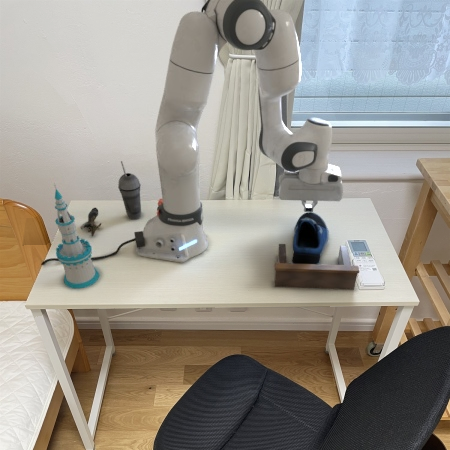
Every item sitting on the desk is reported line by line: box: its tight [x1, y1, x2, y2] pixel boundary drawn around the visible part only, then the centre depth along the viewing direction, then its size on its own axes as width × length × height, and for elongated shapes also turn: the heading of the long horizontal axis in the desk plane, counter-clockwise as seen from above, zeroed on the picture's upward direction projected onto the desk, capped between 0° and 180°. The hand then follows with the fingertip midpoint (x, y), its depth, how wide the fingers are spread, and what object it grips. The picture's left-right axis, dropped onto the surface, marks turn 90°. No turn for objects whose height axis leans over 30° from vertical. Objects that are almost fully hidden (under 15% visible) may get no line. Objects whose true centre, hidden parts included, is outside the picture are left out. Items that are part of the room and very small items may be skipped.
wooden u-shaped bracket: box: [274, 243, 360, 291], centre depth 131 cm, size 23×14×7 cm, turn 86°
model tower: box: [53, 183, 100, 290], centre depth 123 cm, size 10×10×30 cm
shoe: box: [291, 211, 330, 264], centre depth 138 cm, size 11×30×12 cm, turn 168°
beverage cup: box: [117, 160, 142, 221], centre depth 151 cm, size 7×7×20 cm
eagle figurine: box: [80, 207, 102, 237], centre depth 150 cm, size 8×7×9 cm
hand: (308, 211), depth 151 cm, fingers closed
